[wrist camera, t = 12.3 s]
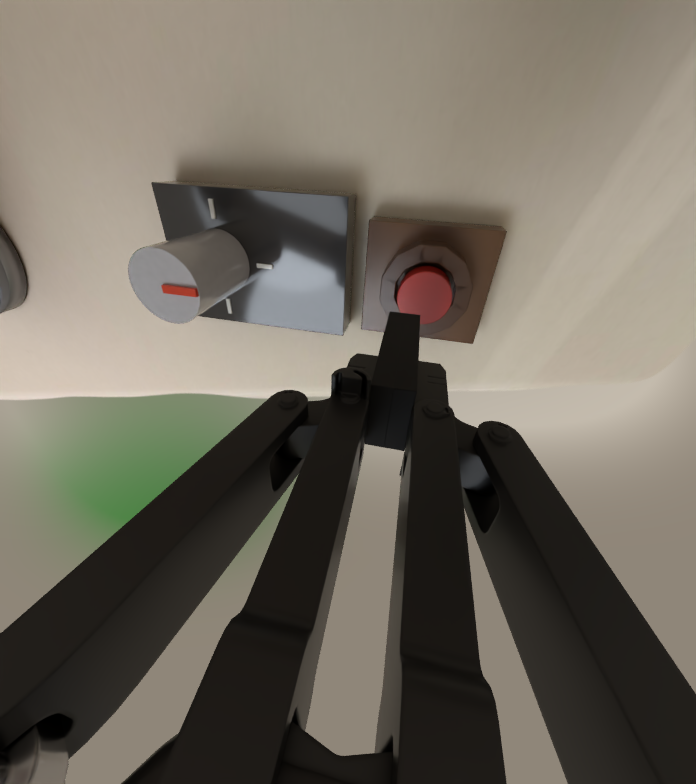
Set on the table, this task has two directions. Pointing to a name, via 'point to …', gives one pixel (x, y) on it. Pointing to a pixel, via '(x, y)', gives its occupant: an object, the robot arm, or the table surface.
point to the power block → (431, 248)
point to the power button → (425, 293)
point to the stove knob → (188, 273)
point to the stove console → (274, 249)
